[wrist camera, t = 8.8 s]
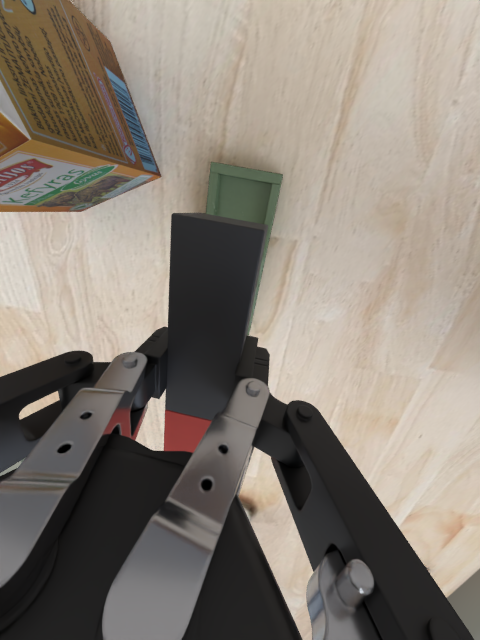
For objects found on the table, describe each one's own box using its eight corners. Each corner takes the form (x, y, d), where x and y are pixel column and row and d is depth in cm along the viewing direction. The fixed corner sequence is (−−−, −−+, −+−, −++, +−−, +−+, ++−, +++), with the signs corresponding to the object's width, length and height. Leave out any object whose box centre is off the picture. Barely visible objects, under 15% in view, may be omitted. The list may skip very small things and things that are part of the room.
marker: (199, 212, 11) (171, 212, 8) (268, 225, 11) (265, 230, 8) (183, 417, 16) (162, 461, 14) (228, 428, 16) (218, 475, 13)
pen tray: (215, 164, 23) (210, 161, 22) (282, 176, 23) (282, 174, 21) (198, 318, 30) (194, 323, 29) (250, 329, 30) (248, 335, 28)
